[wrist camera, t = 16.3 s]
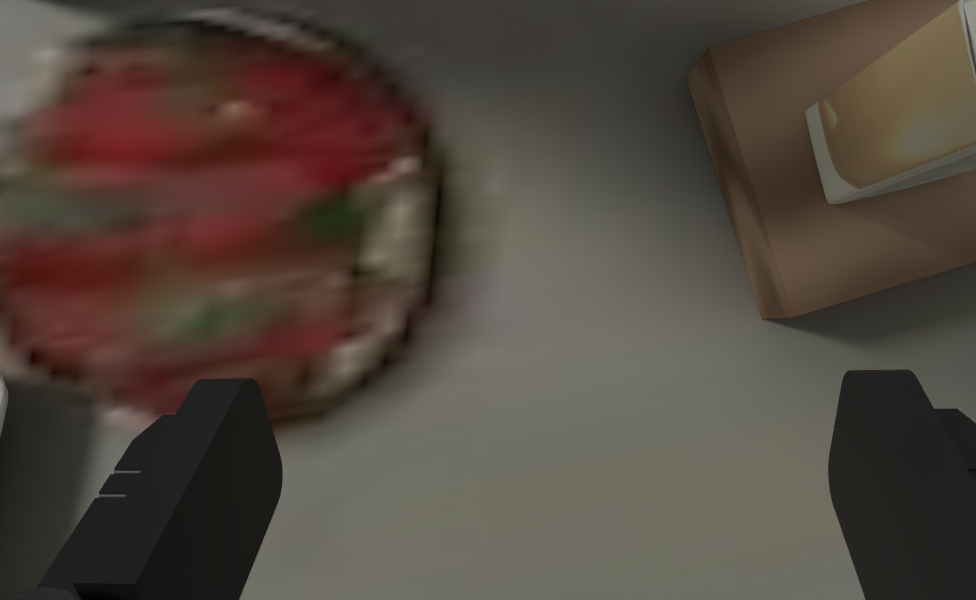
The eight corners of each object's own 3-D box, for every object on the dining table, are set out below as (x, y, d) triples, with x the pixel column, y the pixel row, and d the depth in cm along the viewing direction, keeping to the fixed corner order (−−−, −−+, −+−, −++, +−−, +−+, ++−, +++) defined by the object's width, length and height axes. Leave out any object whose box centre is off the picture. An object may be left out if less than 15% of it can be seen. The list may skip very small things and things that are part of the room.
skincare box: (939, 76, 36) (1177, -59, 24) (966, 174, 36) (1219, 89, 23) (794, 110, 36) (957, -8, 23) (819, 209, 36) (997, 142, 23)
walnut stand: (685, 77, 40) (708, 47, 36) (925, 5, 40) (974, -32, 36) (762, 319, 39) (793, 317, 35) (1004, 245, 40) (1063, 235, 36)
